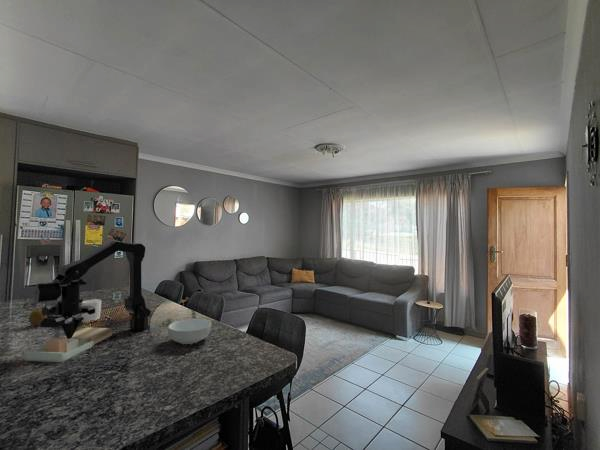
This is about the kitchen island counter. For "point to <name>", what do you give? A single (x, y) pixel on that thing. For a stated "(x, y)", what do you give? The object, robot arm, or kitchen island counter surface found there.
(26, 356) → the tray
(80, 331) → the beech board
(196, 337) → the cereal bowl
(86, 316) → the white cup
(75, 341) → the cream tile
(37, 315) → the fruit
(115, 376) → the kitchen island counter surface
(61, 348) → the terracotta tile
